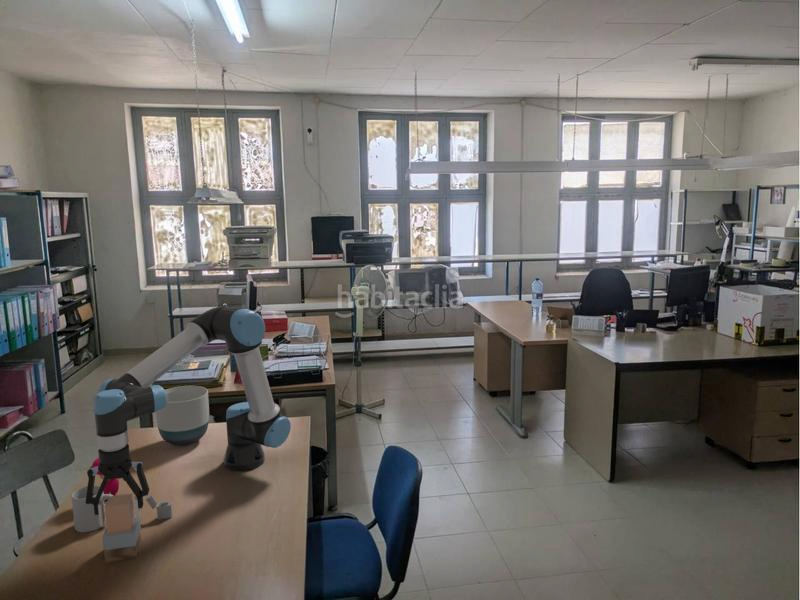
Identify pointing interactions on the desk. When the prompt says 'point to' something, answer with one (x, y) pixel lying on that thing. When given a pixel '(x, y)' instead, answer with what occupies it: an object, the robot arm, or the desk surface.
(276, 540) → the desk surface
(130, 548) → the tower base
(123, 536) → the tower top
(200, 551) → the desk surface
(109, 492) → the toy
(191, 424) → the planter
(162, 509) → the lighter
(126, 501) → the clay block
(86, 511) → the mug
